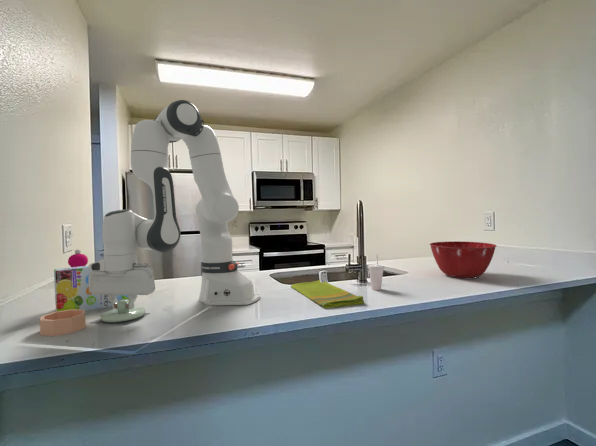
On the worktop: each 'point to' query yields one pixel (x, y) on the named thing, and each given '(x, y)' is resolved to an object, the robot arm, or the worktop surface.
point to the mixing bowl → (463, 258)
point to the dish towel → (327, 294)
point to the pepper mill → (77, 259)
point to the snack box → (78, 290)
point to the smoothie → (376, 275)
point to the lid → (122, 313)
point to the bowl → (62, 322)
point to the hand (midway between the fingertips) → (123, 308)
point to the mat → (119, 322)
